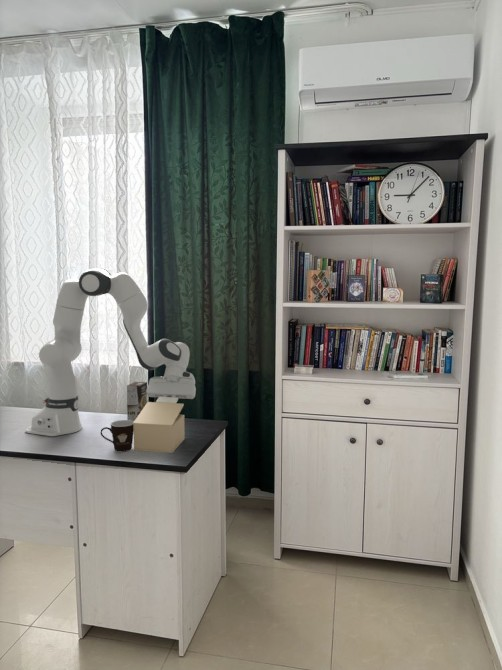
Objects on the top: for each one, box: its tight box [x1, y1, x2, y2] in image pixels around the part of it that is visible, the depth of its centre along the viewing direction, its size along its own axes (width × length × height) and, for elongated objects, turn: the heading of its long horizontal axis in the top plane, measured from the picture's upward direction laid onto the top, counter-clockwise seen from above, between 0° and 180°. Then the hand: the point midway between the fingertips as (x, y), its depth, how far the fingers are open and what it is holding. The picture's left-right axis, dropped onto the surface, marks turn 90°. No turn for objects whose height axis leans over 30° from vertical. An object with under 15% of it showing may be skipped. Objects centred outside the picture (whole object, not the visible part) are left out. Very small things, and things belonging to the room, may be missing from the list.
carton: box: [133, 413, 186, 453], centre depth 196 cm, size 15×16×10 cm
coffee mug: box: [100, 419, 134, 453], centre depth 192 cm, size 12×9×10 cm
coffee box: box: [126, 381, 148, 422], centre depth 232 cm, size 9×6×16 cm
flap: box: [133, 397, 185, 426], centre depth 197 cm, size 15×20×1 cm
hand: (167, 406), depth 205 cm, fingers closed, pressing on flap
